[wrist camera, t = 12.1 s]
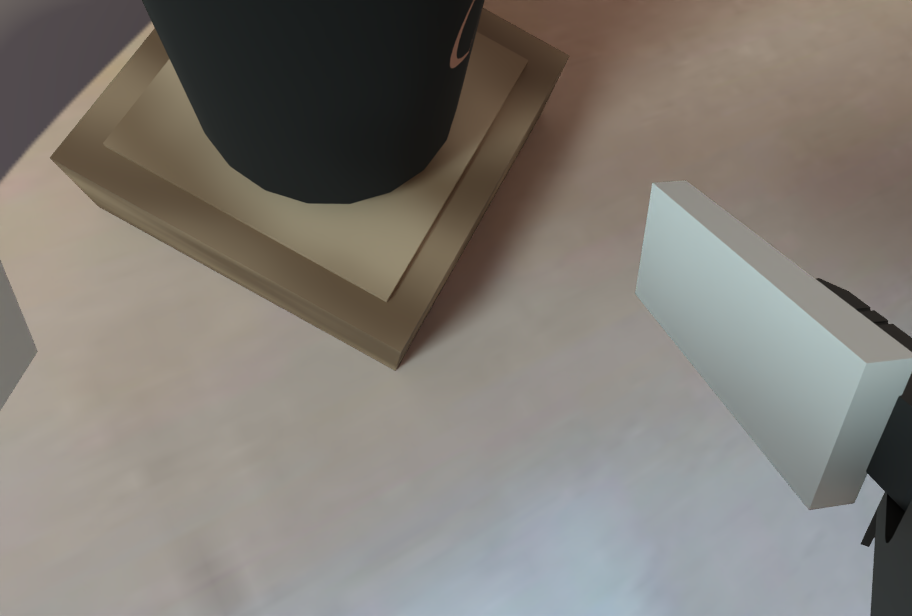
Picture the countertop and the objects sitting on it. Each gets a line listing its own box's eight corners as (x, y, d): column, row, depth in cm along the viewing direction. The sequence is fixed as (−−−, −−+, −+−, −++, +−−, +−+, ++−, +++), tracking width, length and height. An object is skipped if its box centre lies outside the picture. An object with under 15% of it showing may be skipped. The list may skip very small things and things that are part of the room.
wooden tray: (280, -32, 36) (267, -117, 30) (541, 112, 36) (571, 51, 31) (98, 206, 31) (46, 154, 26) (395, 370, 31) (401, 350, 26)
